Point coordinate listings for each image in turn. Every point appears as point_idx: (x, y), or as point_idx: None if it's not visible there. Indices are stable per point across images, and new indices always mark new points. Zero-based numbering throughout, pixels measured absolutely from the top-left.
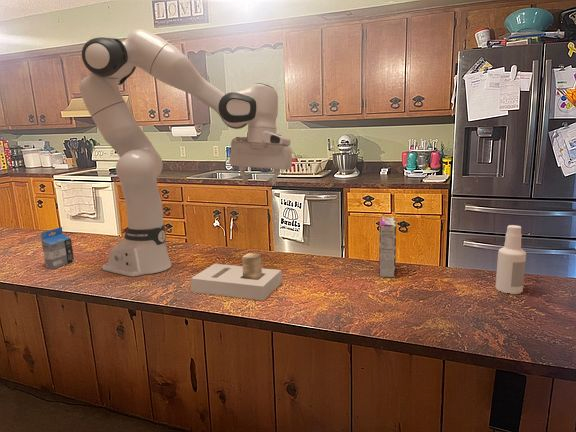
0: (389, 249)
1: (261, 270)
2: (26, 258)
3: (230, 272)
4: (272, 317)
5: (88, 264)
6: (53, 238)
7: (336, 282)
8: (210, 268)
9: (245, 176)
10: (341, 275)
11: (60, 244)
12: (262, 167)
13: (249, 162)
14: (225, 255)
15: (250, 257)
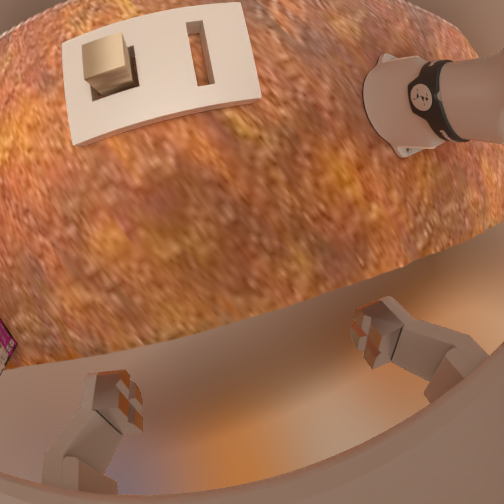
0: None
1: (96, 89)
2: None
3: (178, 61)
4: (34, 24)
5: None
6: None
7: (7, 222)
8: (245, 63)
9: (385, 329)
10: (21, 264)
11: None
12: (203, 494)
13: (441, 457)
14: (322, 239)
15: (96, 40)
